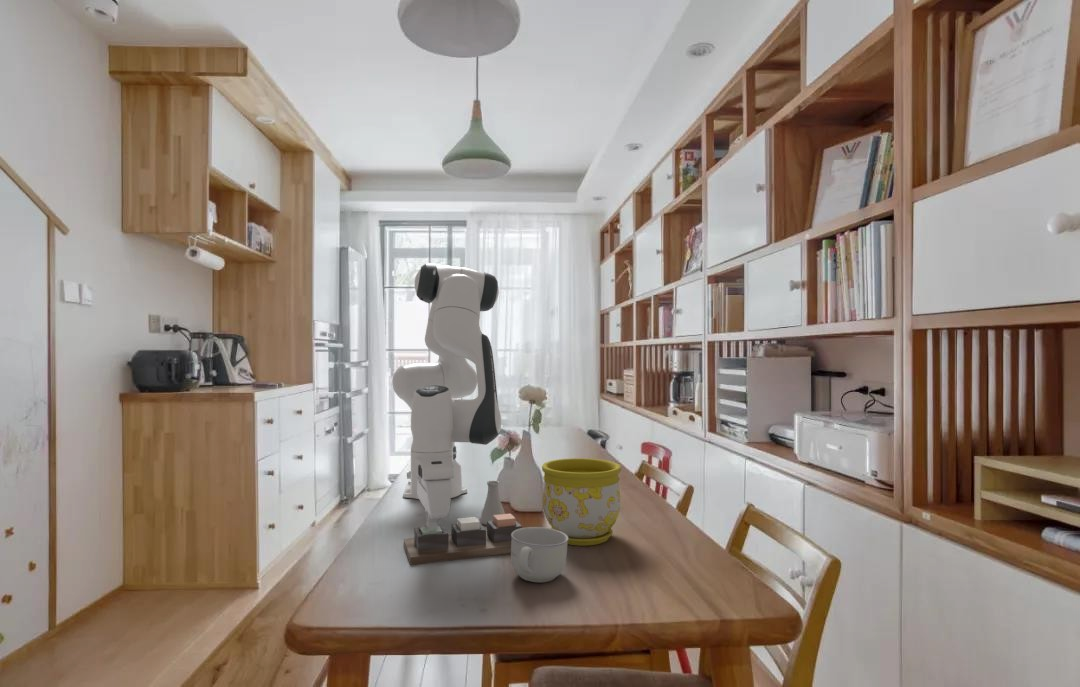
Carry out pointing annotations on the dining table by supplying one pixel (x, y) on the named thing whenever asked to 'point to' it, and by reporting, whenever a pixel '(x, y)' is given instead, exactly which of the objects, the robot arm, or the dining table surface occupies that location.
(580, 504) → the flowerpot
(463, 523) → the cream button
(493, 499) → the flask
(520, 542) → the teacup
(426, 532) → the sage button
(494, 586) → the dining table surface
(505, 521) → the terracotta button
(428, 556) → the button console
